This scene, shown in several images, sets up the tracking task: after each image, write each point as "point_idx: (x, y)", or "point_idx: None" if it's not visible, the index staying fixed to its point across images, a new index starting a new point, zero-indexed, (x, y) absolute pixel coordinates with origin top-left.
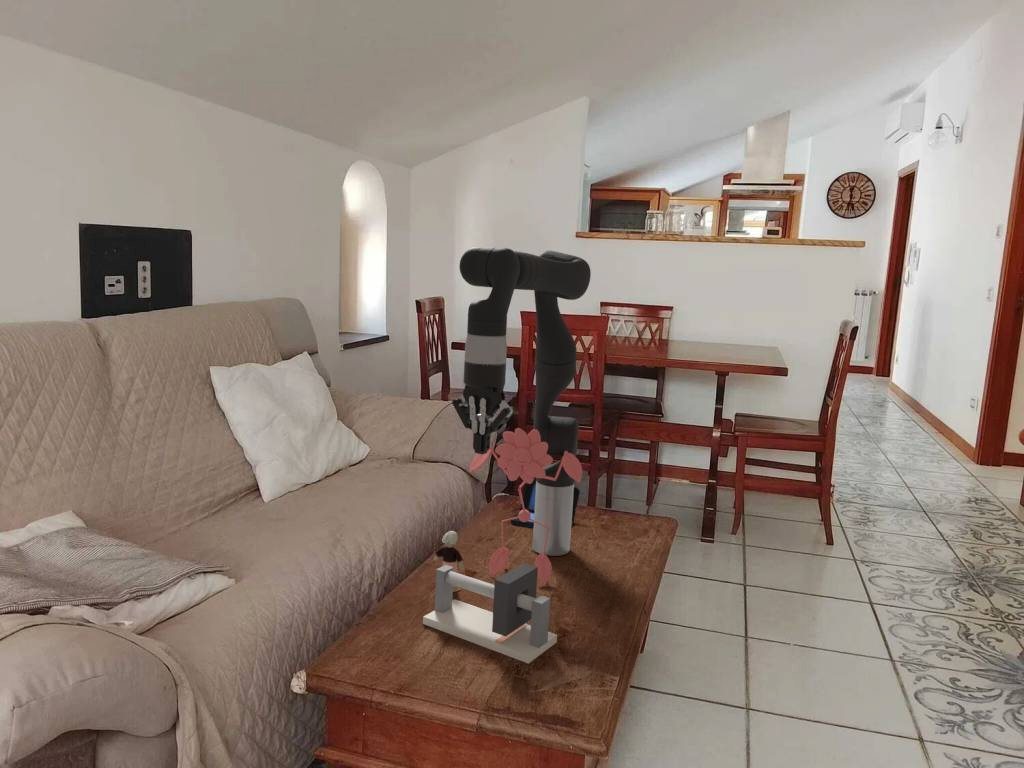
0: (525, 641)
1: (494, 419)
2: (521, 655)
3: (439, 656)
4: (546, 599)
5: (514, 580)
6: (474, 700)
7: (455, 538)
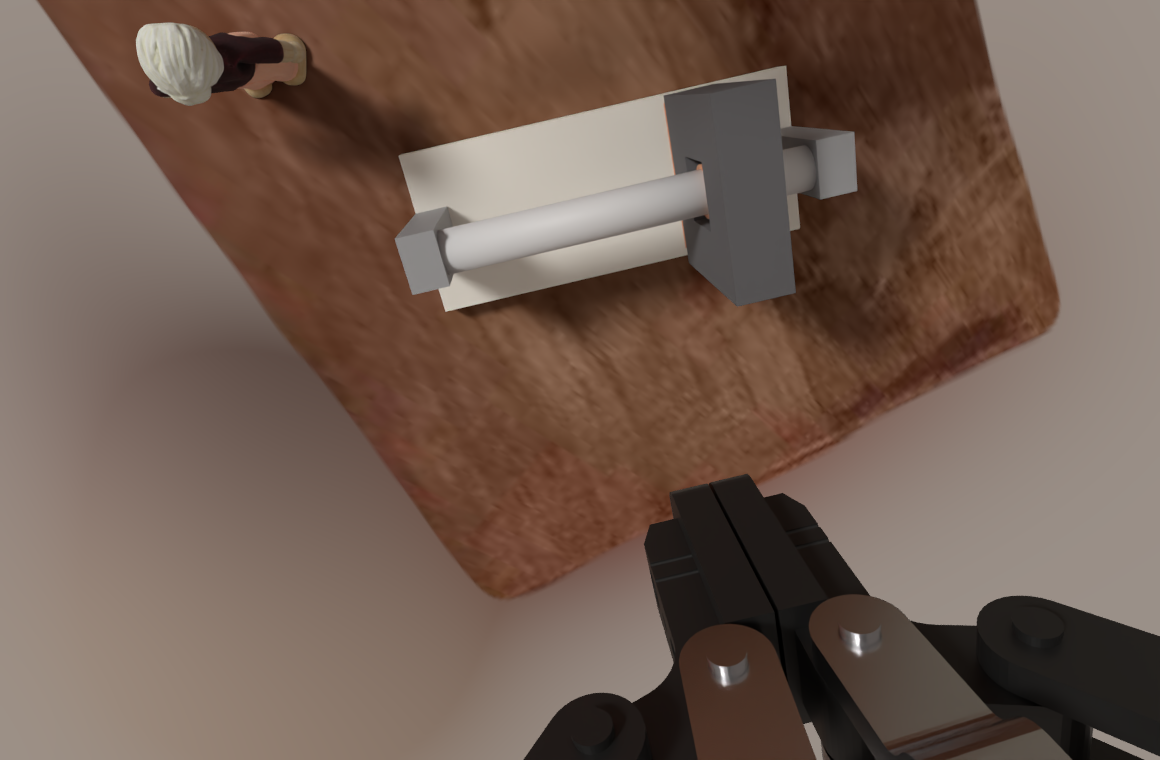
0: None
1: (1024, 723)
2: None
3: (614, 374)
4: (849, 151)
5: (790, 254)
6: (799, 423)
7: (211, 55)
